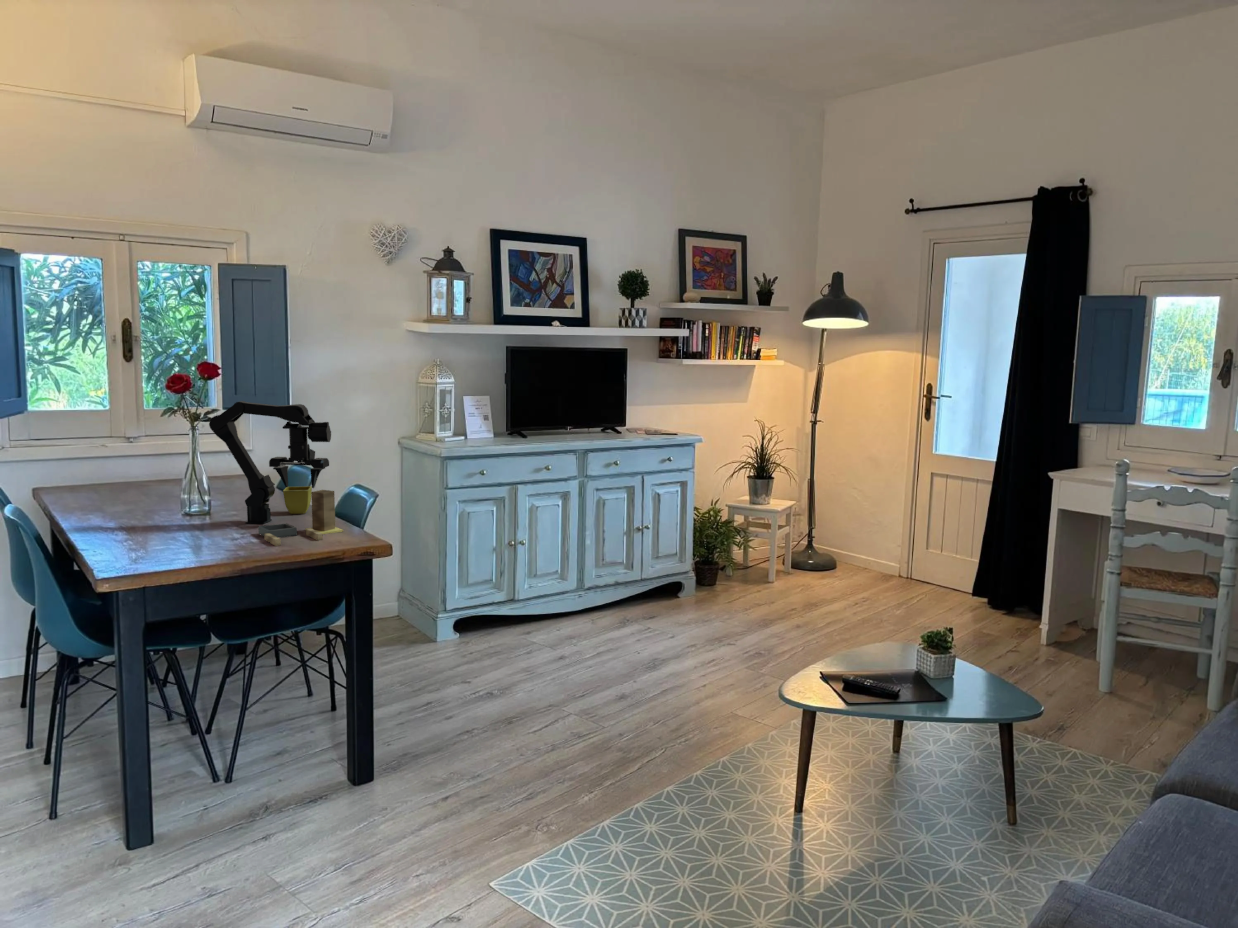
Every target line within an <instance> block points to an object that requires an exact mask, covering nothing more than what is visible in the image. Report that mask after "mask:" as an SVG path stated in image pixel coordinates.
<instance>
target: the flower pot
mask: <svg viewBox="0 0 1238 928" xmlns="http://www.w3.org/2000/svg"><path fill="white" fill-rule="evenodd" d="M312 490H313V488H312V485H311V486H310V485H309V486H304V485H303V486H288V487H285V488H284V489H283V490H282V492H283V500H284V504H285V507H286V509H287V511H288V513H289V514H290V515H294V514H295V515H301V514H302V515H304V514H306V513H307V511H308V510H309V508H310V506H311V503H312V494H311V492H313V491H312Z"/></svg>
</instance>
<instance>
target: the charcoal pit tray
mask: <svg viewBox="0 0 1238 928" xmlns="http://www.w3.org/2000/svg"><path fill="white" fill-rule="evenodd" d="M257 527H258V535H260V534H261V535H262V536H261V535H260V536H261V537H263V536H264V534H266V533H270V534H272V535H274V536H276V537H281V538H288V537H296V536H298V528H297V526H294V525H292V524H290V523H288V522H284V523H277V524H274V523H273V524H267V525H259V526H257Z"/></svg>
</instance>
